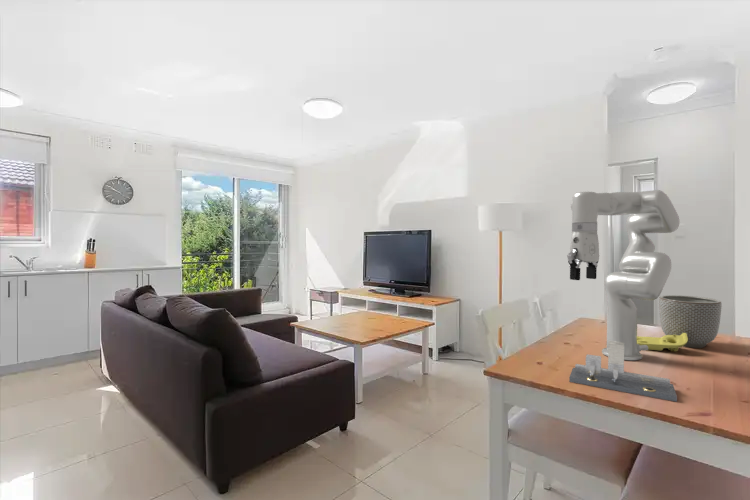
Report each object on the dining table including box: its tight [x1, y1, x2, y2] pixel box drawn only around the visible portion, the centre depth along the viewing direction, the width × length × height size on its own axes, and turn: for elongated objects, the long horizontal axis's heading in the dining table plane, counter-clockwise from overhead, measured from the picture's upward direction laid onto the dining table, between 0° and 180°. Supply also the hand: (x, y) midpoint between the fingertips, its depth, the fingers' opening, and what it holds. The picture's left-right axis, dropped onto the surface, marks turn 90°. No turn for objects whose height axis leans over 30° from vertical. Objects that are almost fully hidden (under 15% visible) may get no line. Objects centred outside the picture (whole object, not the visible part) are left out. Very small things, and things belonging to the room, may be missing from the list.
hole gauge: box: [568, 353, 678, 403], centre depth 112 cm, size 26×10×7 cm, turn 56°
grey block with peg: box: [607, 341, 625, 382], centre depth 112 cm, size 4×8×10 cm, turn 146°
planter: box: [658, 294, 723, 349], centre depth 153 cm, size 20×20×19 cm
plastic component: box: [637, 333, 688, 352], centre depth 149 cm, size 20×7×10 cm
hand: (583, 279), depth 126 cm, fingers open, 9 cm apart
